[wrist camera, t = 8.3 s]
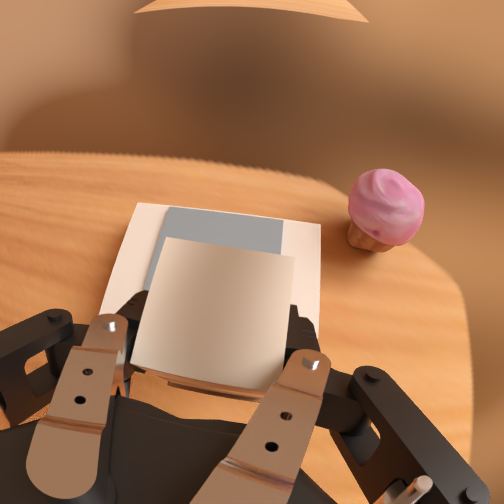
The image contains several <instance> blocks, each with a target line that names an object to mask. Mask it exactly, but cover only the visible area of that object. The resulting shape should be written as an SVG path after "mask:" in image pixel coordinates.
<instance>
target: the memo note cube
mask: <svg viewBox="0 0 504 504" xmlns="http://www.w3.org/2000/svg"><path fill="white" fill-rule="evenodd" d="M294 260H295V257H292V256H285V255H279V254H272V253H266V252H260V251H253V250H247V249H241V248H234V247H228V246H221V245H215V244H209V243H202V242H196V241H189V240H183V239H177V238H170V237H166V239H165V242H164V245H163V248H162V251H161V254H160V257H159V260H158V263H157V266H156V270H155V273H154V276H153V279H152V283H151V286H150V290H149V293H148V296H147V300H146V303H145V307H144V310H143V314H142V318H141V321H140V325H139V329H138V333H137V337H136V341H135V345H134V349H133V353H132V357H131V361H130V363H131V364H133V365H135V366H137V367H139V368H141V369H143V370H146V371H147V372H150V373H152V374H154V375H156V376H158V377H161V378H163V379H165V380H168V385H169V386H172V387H176V388H180V389H184V390H189V391H194V392H199V393H204V394H209V395H214V396H220V397H225V398H231V399H238V400H244V401H251V402H259V403H260V402H261V401H262V399H263V397H264V396H265V394H266V392H267V390H268V389H269V387H270V385H271V384H272V382H276V383H277V381H278V379H279V377H280V375H281V374H282V371H283V364H284V355H285V347H286V339H287V330H288V321H289V312H290V302H291V292H292V282H293V271H294Z"/></svg>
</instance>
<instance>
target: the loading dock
mask: <svg viewBox="0 0 504 504" xmlns="http://www.w3.org/2000/svg"><path fill="white" fill-rule="evenodd" d="M166 237H170V238H177V239H183V240H189V241H196V242H202V243H209V244H215V245H221V246H228V247H234V248H241V249H247V250H253V251H260V252H266V253H272V254H279V255H285V256H292V257H295V260H294V271H293V282H292V292H291V302H290V304H293V305H297V308H298V314H299V317H307V318H308V319H309V320H310V321H311V322H312V323H313V324H314V328H315V332H316V336H317V340H318V326H319V303H320V264H321V224H315V223H308V222H301V221H294V220H286V219H279V218H272V217H264V216H256V215H248V214H240V213H232V212H224V211H215V210H207V209H198V208H188V207H179V206H169V205H159V204H149V203H138V204H137V206H136V209H135V211H134V214H133V216H132V219H131V221H130V224H129V226H128V229H127V231H126V234H125V237H124V239H123V242H122V245H121V248H120V250H119V253H118V256H117V259H116V262H115V265H114V268H113V270H112V273H111V277H110V280H109V283H108V286H107V289H106V292H105V296H104V299H103V302H102V306H101V309H100V312H99V315H101V314H108V313H110V314H115V313H116V312H117V311H118V310H119V309H120V308H121V307H122V306H123V305H124V304H126V302H127V301H128V300H130V298H131V297H132V296H133V295H134V294H136V293H138V292H140V291H143V290H148V291H149V289H150V286H151V283H152V279H153V276H154V273H155V270H156V266H157V263H158V260H159V257H160V254H161V251H162V248H163V245H164V242H165V239H166Z"/></svg>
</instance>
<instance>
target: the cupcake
mask: <svg viewBox="0 0 504 504" xmlns="http://www.w3.org/2000/svg"><path fill="white" fill-rule="evenodd" d="M348 211H349V215H350V217H351V224H350V227H349V230H348V234H347V240H348V242H349V244H350V245H352V246H353V247H355V248H360V249H366V250H370V251H372V252H386V251H388V250H390V249H391V248H393V247H394V246H400V245H404V244H405V243H407V242H408V241H409V240H410V239H411V238H412V237H413V236H414V235H415V234H416V232H417V231H418V229H419V227H420V225H421V223H422V219H423V212H424V200H423V196H422V194H421V193H420V191H419V190H418V189H417V188H416V187H415V186H413V185H412V184H411V183H410V182H409V181H408V180H407V179H406V178H404V177H403V176H402V175H400V174H399V173H397V172H395V171H393V170H389V169H376V170H372V171H368V172H365V173H363V174H362V175H360V176H359V177H358V179H357V180H356V182H355V183H354V185H353V187H352V188H351V191H350V195H349V206H348Z"/></svg>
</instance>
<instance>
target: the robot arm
mask: <svg viewBox="0 0 504 504" xmlns="http://www.w3.org/2000/svg"><path fill="white" fill-rule="evenodd" d="M149 290H150V289H149ZM148 293H149V291H148V290H143V291H140V292H138V293H136V294H134V295H133V296H132V297H131V298H130V300H128V301H127V302H126V304H124V305H123V306H122V307H121V308H120V309H119V310H118V311H117V312H116V313H115V314H110V313H108V314H101V315H98V316H96V317H95V318H93V319H92V321H91V323H90V325H84V324H73V320H72V315H71V313H70V312H68V311H67V310H64V309H50V310H46V311H44V312H42V313H39V314H37V315H35V316H33V317H31V318H28V319H26V320H24V321H22V322H19V323H17V324H15V325H13V326H11V327H9V328H6V329H4V330H2V331H0V504H337V503H336V502H335V501H334V500H333V499H332V498H331V497H330V496H329V495H328V494H327V493H326V492H325V491H323V490H322V489H321V488H320V487H319V486H318V485H317V484H316V483H315V482H314V481H313V480H312V479H311V478H310V477H309V476H308V475H307V474H306V473H305V472H304V471H303V470H302V469H301V468H300V466H301V463H302V461H303V458H304V455H305V452H306V449H307V447H308V444H309V441H310V438H311V435H312V432H313V429H314V426H315V425H316V426H319V427H323V428H326V429H329V431H330V435H331V437H332V438H333V440H334V442H335V444H336V445H337V447H338V449H339V451H340V453H341V454H342V456H343V458H344V460H345V461H346V463H347V465H348V467H349V469H350V470H351V472H352V474H353V476H354V477H355V479H356V481H357V483H358V484H359V486H360V488H361V490H362V491H363V493H364V495H365V497H366V498H367V500H368V502H369V504H489V503H490V492H489V490H488V488H487V486H486V485H485V484H484V482H483V481H482V480H481V479H480V478H479V477H478V475H477V474H476V473H475V472H474V471H473V470H472V468H471V467H470V466H469V465H468V464H467V463H466V461H465V460H464V459H463V458H462V457H461V456H460V455H459V453H458V452H457V451H456V450H455V449H454V448H453V446H452V445H451V444H450V443H449V442H448V441H447V440H446V438H445V437H444V436H443V435H442V434H441V433H440V432H439V431H438V429H437V428H436V427H435V426H434V425H433V424H432V423H431V422H430V420H429V419H428V418H427V417H426V416H425V415H424V414H423V413H422V411H421V410H420V409H419V408H418V407H417V406H416V405H415V404H414V402H413V401H412V400H411V399H410V398H409V397H408V396H407V395H406V394H405V392H404V391H403V390H402V389H401V388H400V387H399V386H398V385H397V384H396V382H395V381H394V380H393V379H392V378H391V377H390V376H389V375H388V374H387V373H386V372H385V371H383V370H381V369H379V368H377V367H373V366H361V367H358V368H356V369H355V371H354V373H353V375H350V374H346V373H343V372H339V371H337V370H334V369H332V368H331V361H330V360H329V358H328V357H327V356H325V355H324V354H322V353H321V352H320V348H319V344H318V340H317V336H316V332H315V328H314V324H313V323H312V322H311V321H310V320H309V319H308V318H307V317H299V314H298V308H297V305H293V304H290V312H289V321H288V330H287V339H286V347H285V355H284V364H283V371H282V374H281V375H280V377H279V379H278V381H277V383H276V382H272V384H271V385H270V387H269V389H268V390H267V392H266V394H265V396H264V397H263V399H262V401H261V402H260V404H259V406H258V407H257V409H256V411H255V412H254V414H253V416H252V417H251V419H250V421H249V422H248V424H243V423H236V422H230V421H224V420H204V419H181V418H178V417H175V416H173V415H171V414H169V413H167V412H165V411H162V410H160V409H158V408H156V407H154V406H152V405H150V404H148V403H144V402H141V401H137V400H134V399H131V394H132V383H133V381H132V374H133V373H134V371H137V372H141V373H144V374H145V372H146V370H143V369H141V368H139V367H137V366H135V365H133V364H131V363H130V361H131V357H132V353H133V349H134V345H135V341H136V337H137V333H138V329H139V325H140V321H141V318H142V314H143V310H144V307H145V303H146V300H147V296H148ZM43 350H45V352H46V357H47V361H48V363H46V364H45V365H43V366H41V367H40V368H38V369H36V370H34V371H33V372H31V373H29V374H28V375H26V373H25V369H24V366H25V363H26V361H27V360H28V359H29V358H31V357H32V356H34V355H36V354H38V353H40V352H41V351H43ZM50 402H51V403H50ZM49 403H50V406H49V409H48V412H47V415H46V417H44V418H41V419H38V420H35V421H31V422H28V423H25V424H21V425H18V424H20V423H21V422H23V421H24V420H26V419H27V418H29V417H30V416H32V415H33V414H34V413H36V412H37V411H39V410H40V409H42V408H43V407H45V406H46V405H47V404H49ZM372 422H373V424H374V425H375V427H376V428H377V429H378V431H379V433H380V439H379V437H378V436H377V434H376V433H375V432H374V430H373V429H372V427H371V426H370V425H371V423H372ZM17 425H18V426H17Z"/></svg>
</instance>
